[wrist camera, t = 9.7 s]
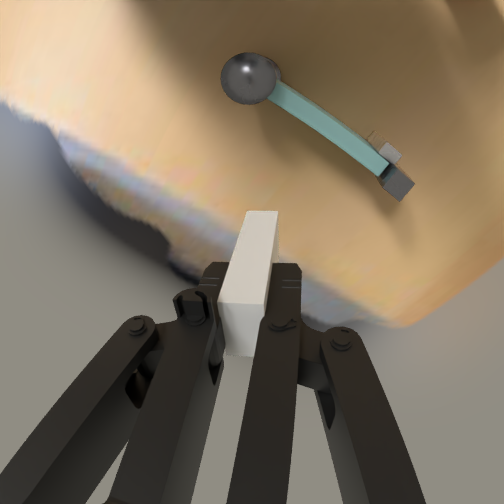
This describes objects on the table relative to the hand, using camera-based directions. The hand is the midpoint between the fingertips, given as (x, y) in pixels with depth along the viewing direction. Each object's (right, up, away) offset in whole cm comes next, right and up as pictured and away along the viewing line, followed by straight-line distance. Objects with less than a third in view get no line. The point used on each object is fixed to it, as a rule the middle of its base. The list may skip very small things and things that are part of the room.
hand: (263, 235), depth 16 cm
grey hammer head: (0, +15, +10) cm, 18 cm away
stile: (+12, +8, +13) cm, 19 cm away
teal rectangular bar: (+5, +12, +11) cm, 17 cm away
